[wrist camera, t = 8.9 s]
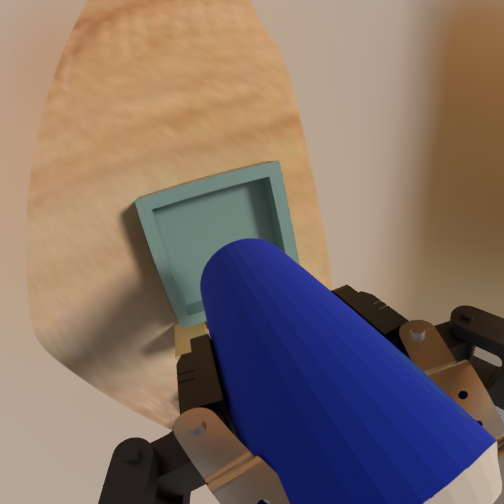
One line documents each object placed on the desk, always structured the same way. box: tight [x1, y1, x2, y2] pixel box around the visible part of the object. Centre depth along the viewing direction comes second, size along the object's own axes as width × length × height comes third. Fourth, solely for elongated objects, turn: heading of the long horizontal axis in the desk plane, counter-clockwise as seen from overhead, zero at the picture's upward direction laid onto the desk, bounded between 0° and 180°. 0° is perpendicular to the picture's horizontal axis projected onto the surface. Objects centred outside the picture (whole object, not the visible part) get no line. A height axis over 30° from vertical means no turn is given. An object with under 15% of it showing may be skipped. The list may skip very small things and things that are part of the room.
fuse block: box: [174, 322, 208, 361], centre depth 26 cm, size 17×6×5 cm, turn 14°
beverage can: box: [200, 238, 502, 504], centre depth 9 cm, size 5×5×15 cm
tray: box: [135, 161, 299, 329], centre depth 23 cm, size 11×11×3 cm
